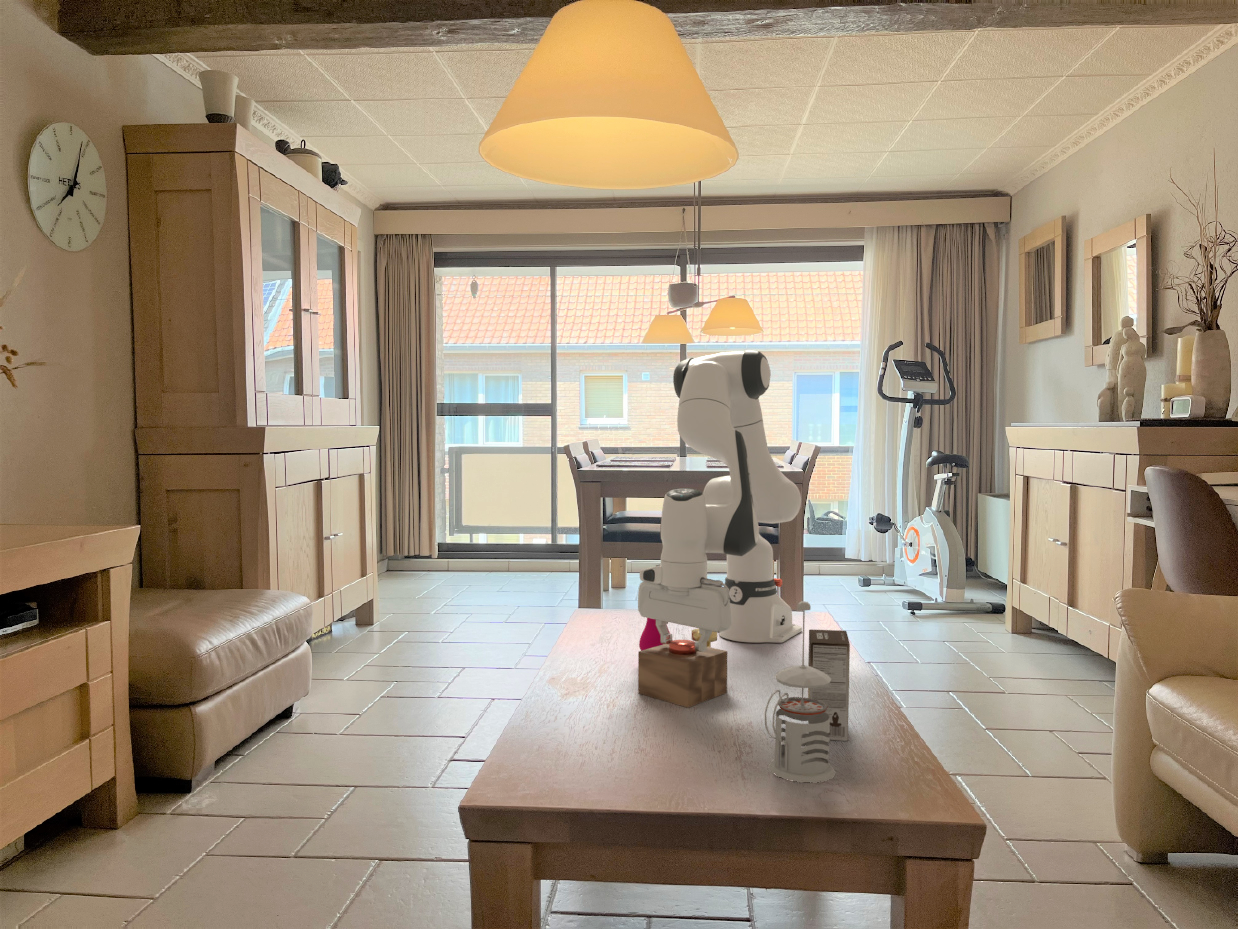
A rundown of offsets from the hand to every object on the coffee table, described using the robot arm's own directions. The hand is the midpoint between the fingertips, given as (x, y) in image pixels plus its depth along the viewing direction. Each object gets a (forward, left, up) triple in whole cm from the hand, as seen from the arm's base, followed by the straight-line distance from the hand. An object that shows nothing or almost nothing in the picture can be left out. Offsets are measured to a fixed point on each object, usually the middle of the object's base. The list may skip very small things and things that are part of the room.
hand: (683, 647), depth 159 cm
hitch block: (0, 0, -9) cm, 9 cm away
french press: (+17, +35, -9) cm, 40 cm away
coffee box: (-1, +30, -9) cm, 31 cm away
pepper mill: (-11, -16, -9) cm, 21 cm away
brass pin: (-12, -4, -9) cm, 15 cm away
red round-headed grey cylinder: (0, 0, -8) cm, 8 cm away
